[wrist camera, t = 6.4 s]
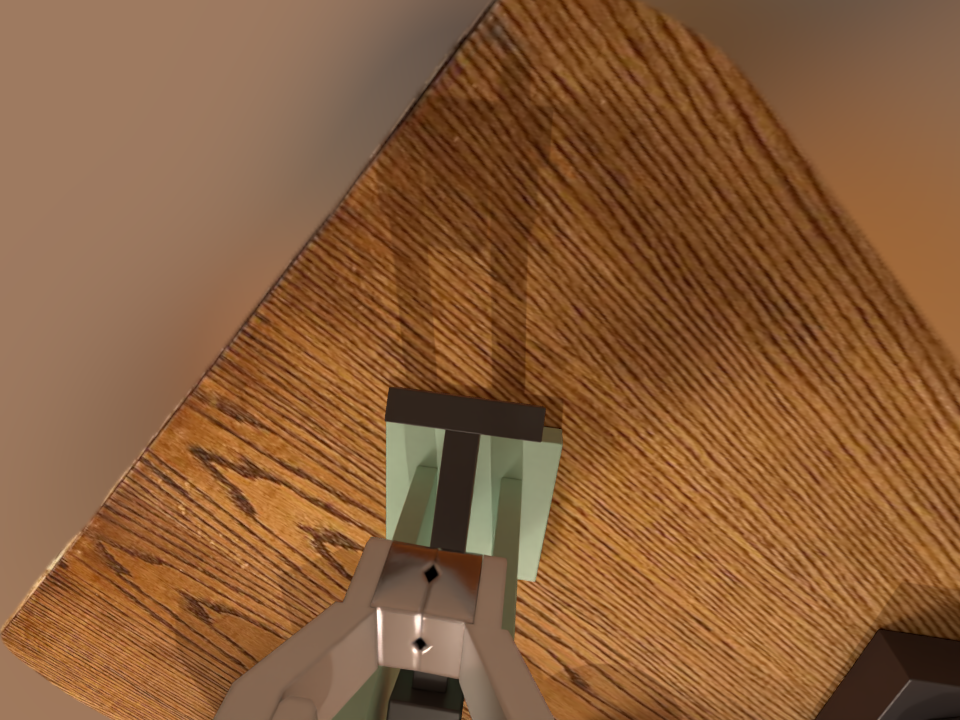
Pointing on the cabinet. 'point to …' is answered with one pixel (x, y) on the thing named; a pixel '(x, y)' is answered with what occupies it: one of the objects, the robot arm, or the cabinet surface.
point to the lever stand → (493, 520)
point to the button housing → (900, 681)
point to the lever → (452, 508)
